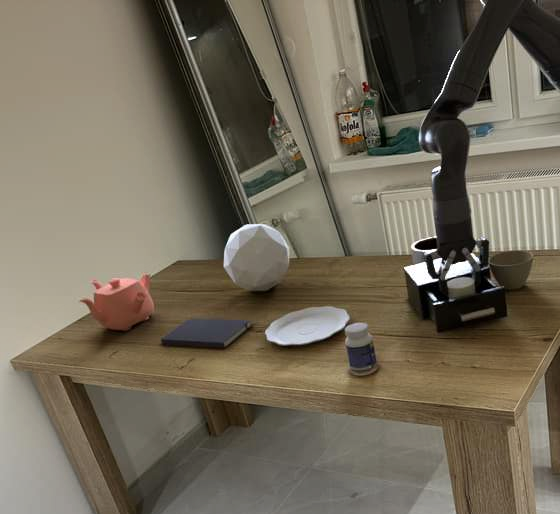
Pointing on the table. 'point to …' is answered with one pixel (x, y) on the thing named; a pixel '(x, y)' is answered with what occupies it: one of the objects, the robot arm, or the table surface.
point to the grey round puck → (460, 287)
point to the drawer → (465, 306)
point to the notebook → (206, 332)
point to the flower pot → (511, 268)
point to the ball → (256, 257)
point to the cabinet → (433, 280)
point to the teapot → (121, 302)
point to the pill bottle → (360, 349)
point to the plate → (307, 325)
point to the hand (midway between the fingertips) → (460, 289)
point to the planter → (423, 249)
